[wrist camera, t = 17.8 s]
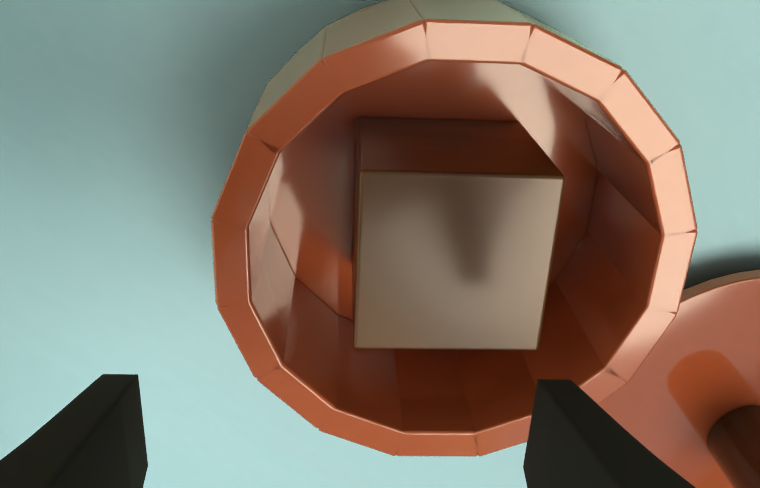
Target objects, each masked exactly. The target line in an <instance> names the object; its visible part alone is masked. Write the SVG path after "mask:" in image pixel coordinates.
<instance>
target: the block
mask: <svg viewBox="0 0 760 488" xmlns="http://www.w3.org/2000/svg"><path fill="white" fill-rule="evenodd" d="M564 184H565V176H564V175H563V174H562V172H561V171H560V170H559V169H558V168H557V166H556V165H555V164H554V163H553V161H552V160H551V159H550V158H549V157H548V155H547V154H546V153H545V152H544V151H543V149H542V148H541V147H540V146H539V145H538V143H537V142H536V141H535V140H534V138H533V137H532V136H531V135H530V134H529V132H528V131H527V130H526V129H525V128H524V126H523V125H522V124H521V123H520V122H505V121H472V120H439V119H406V118H373V117H359V118H357V119H356V134H355V167H354V201H353V235H352V305H353V345H354V347H355V348H361V349H447V350H533V351H535V350H538V347H539V342H540V336H541V329H542V323H543V317H544V310H545V304H546V298H547V291H548V285H549V279H550V272H551V266H552V260H553V253H554V247H555V241H556V234H557V228H558V222H559V215H560V209H561V203H562V196H563V190H564Z"/></svg>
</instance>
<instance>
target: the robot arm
mask: <svg viewBox="0 0 760 488" xmlns="http://www.w3.org/2000/svg"><path fill="white" fill-rule="evenodd" d="M147 467H148V462H147V453H146V444H145V435H144V426H143V416H142V407H141V398H140V389H139V380H138V375H127V374H103V375H102V376H100V377H99V378H98V379H97V380H95V381H94V382H93V383H92V384H91V385H90V386H89V387H87V388H86V389H85V390H84V391H83V392H82V393H81V394H79V395H78V396H77V397H76V398H75V399H74V400H73V401H71V402H70V403H69V404H68V405H67V406H66V407H65V408H63V409H62V410H61V411H60V412H59V413H58V414H56V415H55V416H54V417H53V418H52V419H51V420H50V421H48V422H47V423H46V424H45V425H44V426H42V427H41V428H40V429H39V430H38V431H37V432H35V433H34V434H33V435H32V436H31V437H29V438H28V439H27V440H26V441H25V442H23V443H22V444H21V445H20V446H18V447H17V448H16V449H14V450H13V451H12V452H11V453H9V454H8V455H7V456H5V457H4V458H3V459H1V460H0V488H143V484H144V480H145V476H146V471H147ZM523 468H524V473H525V478H526V483H527V488H696V487H694V486H693V485H692V484H690V483H689V482H688V481H687V480H685V479H684V478H683V477H682V476H680V475H679V474H678V473H676V472H675V471H674V470H673V469H671V468H670V467H669V466H667V465H666V464H665V463H664V462H663V461H661V460H660V459H659V458H658V457H657V456H655V455H654V454H653V453H652V452H651V451H649V450H648V449H647V448H646V447H645V446H644V445H642V444H641V443H640V442H639V441H638V440H637V439H636V438H634V437H633V436H632V435H631V434H630V433H629V432H628V431H627V430H625V429H624V428H623V427H622V426H621V425H620V424H619V423H618V422H617V421H615V420H614V419H613V418H612V417H611V416H610V415H609V414H608V413H607V412H606V411H605V410H604V409H602V408H601V407H600V406H599V405H598V404H597V403H596V402H595V401H594V400H593V399H592V398H591V397H589V396H588V395H587V394H586V393H585V392H584V391H583V390H582V389H581V388H580V387H579V386H577V385H576V384H575V383H574V382H573V381H572V380H570V379H538V380H537V386H536V392H535V398H534V404H533V410H532V416H531V423H530V429H529V435H528V441H527V447H526V453H525V459H524V465H523Z"/></svg>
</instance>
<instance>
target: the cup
mask: <svg viewBox="0 0 760 488" xmlns="http://www.w3.org/2000/svg"><path fill="white" fill-rule="evenodd" d="M359 117H373V118H406V119H439V120H472V121H505V122H520V123H521V124H522V125H523V126H524V128H525V129H526V130H527V131H528V132H529V134H530V135H531V136H532V137H533V138H534V140H535V141H536V142H537V143H538V145H539V146H540V147H541V148H542V149H543V151H544V152H545V153H546V154H547V155H548V157H549V158H550V159H551V160H552V161H553V163H554V164H555V165H556V166H557V168H558V169H559V170H560V171H561V172H562V174H563V175H564V176H565V184H564V190H563V196H562V203H561V209H560V215H559V222H558V228H557V234H556V241H555V247H554V253H553V260H552V266H551V272H550V279H549V285H548V291H547V298H546V304H545V310H544V317H543V323H542V329H541V336H540V342H539V347H538V350H535V351H533V350H447V349H361V348H355V347H354V345H353V305H352V235H353V201H354V167H355V134H356V119H357V118H359ZM211 219H212V221H211V232H212V249H213V266H214V283H215V299H216V304H217V305H218V306H217V307H218V310H219V312H220V314H221V316H222V318H223V320H224V321H225V323H226V325H227V327H228V329H229V331H230V333H231V335H232V336H233V338H234V340H235V342H236V344H237V346H238V348H239V349H240V351H241V353H242V355H243V357H244V359H245V361H246V363H247V364H248V366H249V368H250V370H251V372H252V374H253V376H254V377H255V378H257V380H258V381H259V382H260V383H261V384H263V385H264V386H265V387H266V388H267V389H269V390H270V391H271V392H272V393H274V394H275V395H276V396H277V397H279V398H280V399H281V400H282V401H283V402H285V403H286V404H287V405H288V406H290V407H291V408H292V409H293V410H295V411H296V412H297V413H298V414H300V415H301V416H302V417H303V418H304V419H306V420H307V421H308V422H309V423H311V424H312V425H313V426H314V427H316V428H319V431H322V432H325V433H328V434H330V435H333V436H336V437H339V438H342V439H345V440H348V441H351V442H354V443H357V444H360V445H363V446H366V447H369V448H372V449H375V450H378V451H381V452H384V453H387V454H390V455H393V456H395V455H397V456H477V455H478V456H483V455H486V454H489V453H492V452H495V451H499V450H502V449H505V448H508V447H511V446H515V445H518V444H521V443H524V442H527V441H528V435H529V429H530V423H531V416H532V410H533V404H534V398H535V392H536V386H537V380H538V379H570V380H572V381H573V382H574V383H575V384H576V385H577V386H579V387H580V388H581V389H582V390H583V391H584V392H585V393H586V394H587V395H588V396H589V397H591V398H592V399H593V400H594V401H595V402H596V403H597V404H599V403H600V402H602V401H603V400H604V399H606V398H607V397H609V396H610V395H612V394H613V393H614V392H616V391H617V390H619V389H620V388H622V387H623V386H624V385H626V384H627V382H629V381H630V380H631V378H632V377H633V375H634V374H635V373H636V371H637V370H638V368H639V367H640V366H641V364H642V363H643V362H644V360H645V359H646V357H647V356H648V355H649V353H650V352H651V350H652V349H653V348H654V346H655V345H656V343H657V342H658V341H659V339H660V338H661V336H662V335H663V334H664V332H665V331H666V329H667V328H668V327H669V325H670V324H671V322H672V321H673V320H674V318H675V317H676V315H677V312H678V310H679V305H680V301H681V297H682V293H683V289H684V285H685V281H686V277H687V273H688V269H689V265H690V261H691V257H692V253H693V249H694V245H695V241H696V236H697V223H696V218H695V213H694V208H693V202H692V197H691V192H690V187H689V181H688V176H687V171H686V166H685V161H684V155H683V150H682V146H681V145H680V142H679V139H678V138H677V137H676V135H675V134H674V133H673V132H672V130H671V129H670V128H669V126H668V125H667V124H666V122H665V121H664V120H663V118H662V117H661V116H660V114H659V113H658V112H657V111H656V109H655V108H654V107H653V105H652V104H651V103H650V101H649V100H648V99H647V97H646V96H645V95H644V93H643V92H642V91H641V90H640V88H639V87H638V86H637V84H636V83H635V82H634V80H633V79H632V78H631V76H630V75H629V74H628V72H627V71H625V70H624V69H622V67H621V66H619V65H617V64H616V63H614V62H612V61H610V60H609V59H607V58H605V57H603V56H602V55H600V54H598V53H596V52H595V51H593V50H591V49H589V48H588V47H586V46H584V45H582V44H580V43H579V42H577V41H575V40H573V39H572V38H570V37H568V36H566V35H565V34H563V33H561V32H559V31H557V30H555V29H553V28H551V27H549V26H547V25H545V24H543V23H541V22H539V21H537V20H535V19H533V18H531V17H529V16H527V15H526V14H524V13H522V12H519V11H517V10H515V9H513V8H511V7H509V6H507V5H505V4H503V3H501V2H499V1H497V0H386V1H383V2H380V3H377V4H374V5H370V6H367V7H364V8H362V9H360V10H358V11H356V12H354V13H352V14H349V15H347V16H345V17H343V18H341V19H339V20H338V21H335V22H333V23H330V24H329V25H328V26H326V27H324V28H323V29H322V30H321V31H320V32H318V33H317V34H316V35H315V36H314V37H313V38H312V39H311V40H309V41H308V42H307V43H306V44H305V45H304V46H302V47H301V48H300V49H299V50H298V51H297V52H296V53H295V54H294V55H293V56H292V57H291V59H290V60H289V61H288V62H287V63H286V64H285V65H284V66H283V68H282V69H281V70H280V71H279V72H278V73H277V74H276V75H275V76H274V77H273V78H272V79H271V80H270V81H269V82H268V84H267V85H266V87H265V89H264V91H263V93H262V96H261V98H260V100H259V102H258V105H257V107H256V109H255V111H254V114H253V116H252V118H251V120H250V123H249V125H248V127H247V129H246V131H245V134H244V136H243V139H242V141H241V144H240V146H239V149H238V151H237V154H236V156H235V159H234V161H233V164H232V166H231V169H230V171H229V174H228V176H227V179H226V181H225V184H224V186H223V189H222V191H221V194H220V196H219V199H218V201H217V204H216V206H215V209H214V212H213V214H212V217H211Z"/></svg>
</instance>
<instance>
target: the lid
mask: <svg viewBox="0 0 760 488" xmlns="http://www.w3.org/2000/svg"><path fill="white" fill-rule="evenodd" d="M598 405H599V406H600V407H601V408H602V409H604V410H605V411H606V412H607V413H608V414H609V415H610V416H611V417H612V418H613V419H614V420H615V421H617V422H618V423H619V424H620V425H621V426H622V427H623V428H624V429H625V430H627V431H628V432H629V433H630V434H631V435H632V436H633V437H634V438H636V439H637V440H638V441H639V442H640V443H641V444H642V445H644V446H645V447H646V448H647V449H648V450H649V451H651V452H652V453H653V454H654V455H655V456H657V457H658V458H659V459H660V460H661V461H663V462H664V463H665V464H666V465H667V466H669V467H670V468H671V469H673V470H674V471H675V472H676V473H678V474H679V475H680V476H682V477H683V478H684V479H685V480H687V481H688V482H689V483H690V484H692V485H693V486H694V487H696V488H760V269H758V270H752V271H745V272H739V273H733V274H729V275H726V276H722V277H718V278H715V279H711V280H707V281H705V282H702V283H700V284H697V285H695V286H692V287H689V288H687V289H684V290H683V293H682V297H681V301H680V305H679V310H678V312H677V315H676V317H675V318H674V320H673V321H672V322H671V324H670V325H669V327H668V328H667V329H666V331H665V332H664V334H663V335H662V336H661V338H660V339H659V341H658V342H657V343H656V345H655V346H654V348H653V349H652V350H651V352H650V353H649V355H648V356H647V357H646V359H645V360H644V362H643V363H642V364H641V366H640V367H639V368H638V370H637V371H636V373H635V374H634V375H633V377H632V378H631V380H630V381H629V382H627V384H626V385H624V386H623V387H622V388H620V389H619V390H617V391H616V392H614V393H613V394H612V395H610V396H609V397H607V398H606V399H604V400H603V401H602V402H600V403H599V404H598Z"/></svg>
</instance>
